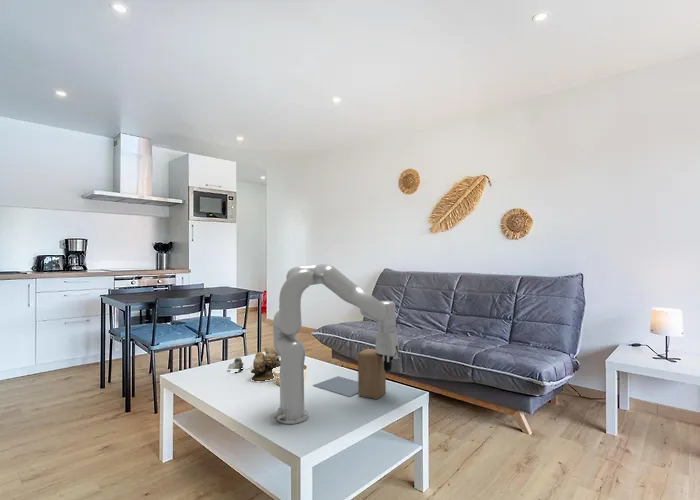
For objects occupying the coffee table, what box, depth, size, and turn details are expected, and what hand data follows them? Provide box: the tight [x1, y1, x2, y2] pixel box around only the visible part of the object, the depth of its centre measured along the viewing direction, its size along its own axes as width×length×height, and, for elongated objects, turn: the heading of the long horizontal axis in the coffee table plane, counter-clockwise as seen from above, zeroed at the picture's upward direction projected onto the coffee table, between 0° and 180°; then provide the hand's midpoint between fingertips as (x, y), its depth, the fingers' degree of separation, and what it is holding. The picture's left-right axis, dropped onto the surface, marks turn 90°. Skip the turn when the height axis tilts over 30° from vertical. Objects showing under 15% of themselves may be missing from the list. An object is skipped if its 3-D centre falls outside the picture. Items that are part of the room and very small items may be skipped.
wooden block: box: [357, 348, 387, 400], centre depth 182 cm, size 10×10×20 cm
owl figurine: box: [250, 345, 281, 381], centre depth 209 cm, size 18×12×17 cm, turn 136°
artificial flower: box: [227, 357, 244, 370], centre depth 223 cm, size 9×22×10 cm, turn 110°
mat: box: [312, 375, 359, 398], centre depth 194 cm, size 18×24×1 cm
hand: (387, 370), depth 176 cm, fingers closed
